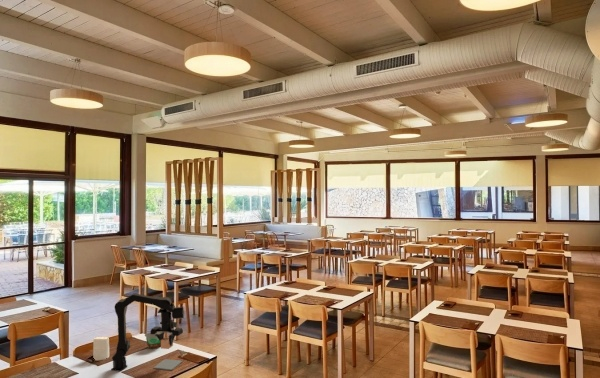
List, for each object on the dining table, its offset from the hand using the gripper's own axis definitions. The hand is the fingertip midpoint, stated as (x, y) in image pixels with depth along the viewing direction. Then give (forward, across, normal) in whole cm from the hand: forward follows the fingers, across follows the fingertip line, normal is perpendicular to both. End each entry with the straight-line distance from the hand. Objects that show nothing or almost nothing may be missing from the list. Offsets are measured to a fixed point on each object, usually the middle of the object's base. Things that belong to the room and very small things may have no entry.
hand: (167, 345), depth 242 cm
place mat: (+11, -1, +1) cm, 11 cm away
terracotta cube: (+1, 0, 0) cm, 1 cm away
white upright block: (+11, +47, -1) cm, 48 cm away
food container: (+11, +22, -21) cm, 33 cm away
